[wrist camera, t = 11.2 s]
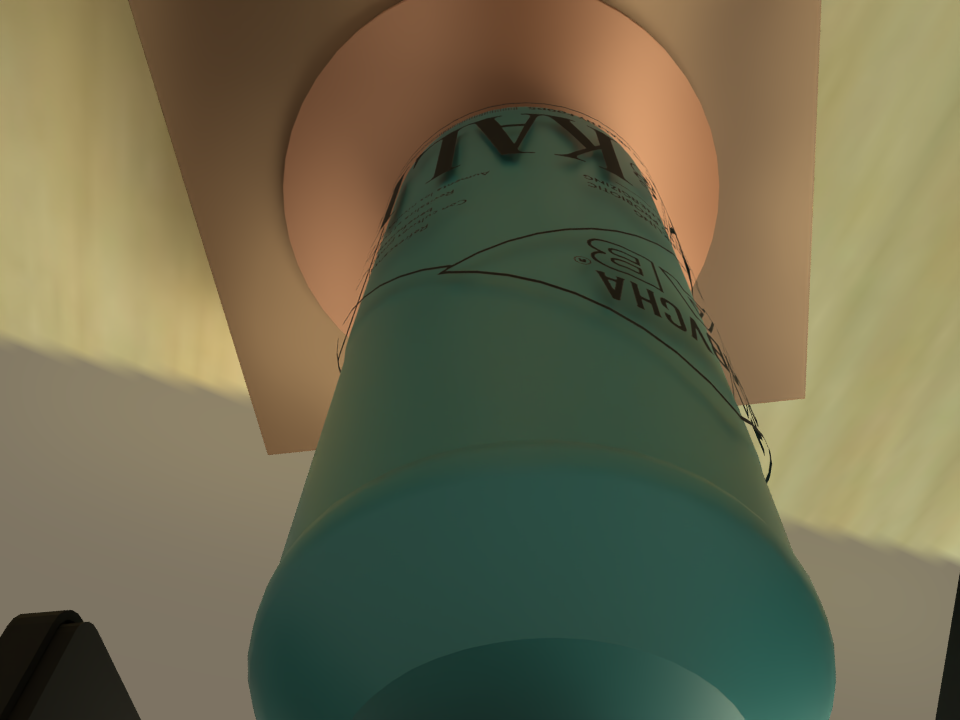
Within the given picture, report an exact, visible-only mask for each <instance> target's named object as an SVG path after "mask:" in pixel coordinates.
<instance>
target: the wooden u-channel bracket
mask: <svg viewBox="0 0 960 720" xmlns="http://www.w3.org/2000/svg"><path fill="white" fill-rule="evenodd" d="M128 1H129V4H130V8H131V11H132V14H133V17H134V21H135V24H136V27H137V30H138V34H139V37H140V40H141V43H142V47H143V50H144V53H145V56H146V60H147V63H148V66H149V69H150V73H151V76H152V79H153V82H154V86H155V89H156V92H157V95H158V99H159V102H160V105H161V108H162V112H163V115H164V118H165V121H166V125H167V128H168V131H169V134H170V138H171V141H172V144H173V147H174V151H175V154H176V157H177V160H178V164H179V167H180V170H181V173H182V177H183V180H184V183H185V186H186V190H187V193H188V196H189V199H190V203H191V206H192V209H193V213H194V216H195V219H196V222H197V226H198V229H199V232H200V235H201V239H202V242H203V245H204V248H205V252H206V255H207V258H208V261H209V265H210V268H211V271H212V274H213V278H214V281H215V284H216V287H217V291H218V294H219V297H220V300H221V304H222V307H223V310H224V313H225V317H226V320H227V323H228V326H229V330H230V333H231V336H232V339H233V343H234V346H235V349H236V352H237V356H238V359H239V362H240V365H241V369H242V372H243V375H244V378H245V382H246V385H247V388H248V391H249V395H250V398H251V401H252V404H253V408H254V411H255V414H256V417H257V421H258V424H259V427H260V430H261V434H262V437H263V440H264V443H265V447H266V450H267V453H268V455H273V454H282V453H292V452H302V451H311V450H316V448H317V445H318V442H319V438H320V435H321V432H322V429H323V426H324V423H325V420H326V417H327V413H328V410H329V407H330V404H331V401H332V398H333V395H334V392H335V389H336V385H337V382H338V379H339V376H340V371H339V368H338V361H337V353H338V357H339V354H340V351H341V348H342V345H343V342H344V339H345V336H346V334H347V331H348V328H349V325H350V322H351V319H352V316H353V314H354V311H355V308H356V307H355V306H356V305H357V302H358V299H359V296H360V294H361V291H362V288H363V285H364V282H365V279H366V276H367V274H368V276H367V279H366V282H365V285H364V288H363V291H362V294H361V297H360V299H359V301H360V300H361V299H362V298H363V295H364V292H365V289H366V286H367V283H368V280H369V273H368V271H369V270H368V268H370V265H371V262H372V259H373V256H374V251H375V249H376V248H378V247H377V245H378V242H379V245H380V243H381V242H382V240H383V237H382V236H383V233H385V231H386V228H387V225H388V222H389V219H390V218H389V219H388V220H387V222H386V223H385V225H384V226H383V227H384V230H383V227H382V229H381V230H380V228H381V225H382V223H383V220H384V217H385V215H384V214H386V212H387V210H386V209H388V206H389V203H390V200H391V198H392V195H393V193H392V192H394V191H393V190H394V189H393V188H395V187H396V185H397V183H398V181H399V180H400V179H401V177H402V176H403V174H404V173H405V174H404V177H403V179H402V182H401V185H400V188H401V186H402V183H403V182H404V180H405V178H406V176H407V174H408V172H409V170H410V169H411V167H412V166H413V164H414V163H415V162H416V159H417V158H418V157H419V156H420V155H421V154H422V153H423V152H424V150H425V149H426V148H427V147H428V146H429V145H430V144H431V143H432V142H433V141H435V140H436V139H437V138H438V137H439V134H440V136H441V133H442V134H443V131H444V132H445V130H446V129H447V130H448V128H449V129H450V127H451V128H452V126H453V125H454V126H455V124H456V125H457V123H459V122H460V123H461V122H462V121H464V120H466V119H467V118H468V119H469V117H470V118H471V117H472V116H476V115H479V114H482V113H484V112H487V111H492V110H497V109H502V108H508V107H541V108H548V109H554V110H559V111H564V112H566V113H569V114H573V115H575V116H578V117H583V119H585V120H586V121H587V120H589V121H590V123H591V122H594V123H595V126H596V125H597V127H598V125H600V126H601V128H600V127H599V128H600V129H602V130H603V131H605V132H606V133H608V132H609V133H608V134H609V135H610V136H611V137H612V138H613V139H614V140H616V141H617V142H618V143H619V144H620V145H621V146H622V147H623V148H624V150H625V151H626V152H627V153H628V154H629V155H630V156H631V158H632V159H633V161H634V162H635V164H636V165H637V167H638V168H639V170H640V171H641V173H643V174H644V175H643V174H642V175H643V177H644V178H645V179H646V178H647V179H648V180H649V181H648V180H647V179H646V180H647V182H648V183H649V182H650V183H649V185H650V184H651V185H652V187H653V189H654V191H655V193H656V194H655V193H654V192H653V191H652V190H650V189H649V190H650V193H651V194H652V192H653V193H654V195H655V196H656V198H657V200H656V199H655V198H654V197H653V196H652V198H653V200H654V203H655V205H656V208H657V210H658V212H659V215H660V217H661V218H662V219H663V220H662V219H661V220H662V222H663V225H664V221H665V226H666V228H667V229H668V231H669V232H668V231H667V229H665V230H666V232H667V234H668V237H669V239H670V236H669V235H670V229H669V226H670V228H671V227H672V225H673V227H674V230H675V232H676V234H677V238H678V241H679V243H678V241H677V238H675V237H676V235H675V234H674V235H673V234H672V235H671V237H672V236H673V237H672V238H673V241H674V242H673V241H672V240H671V239H670V242H672V247H673V249H674V252H675V254H676V257H677V259H678V261H679V262H680V263H681V264H680V263H679V264H680V266H681V269H682V271H683V274H684V276H685V279H686V281H687V284H688V286H689V288H690V291H691V293H692V288H691V283H690V280H689V276H688V273H687V272H686V271H687V270H686V267H685V263H684V260H683V258H682V253H681V252H680V251H681V250H679V249H680V247H679V244H680V246H682V248H681V249H682V251H683V252H684V253H683V254H684V257H685V259H686V260H687V261H688V262H687V261H686V262H687V264H688V266H689V267H690V268H689V269H692V270H690V275H691V279H692V280H691V281H692V287H693V298H694V301H695V302H696V303H697V304H698V305H699V306H700V307H701V308H702V309H703V308H704V310H705V311H706V312H705V313H704V312H703V311H702V310H701V309H700V307H699V306H698V305H697V304H696V306H697V307H698V308H699V309H700V310H701V311H702V313H703V314H704V316H703V317H702V320H703V323H704V325H705V326H706V327H707V328H708V329H709V328H710V326H711V323H712V322H713V323H714V327H713V331H712V333H710V332H709V331H708V329H707V328H706V327H705V328H706V330H707V333H708V334H709V335H710V336H711V337H712V338H713V340H714V341H715V342H716V343H717V344H718V345H719V347H720V350H721V352H722V355H723V357H724V359H725V362H726V364H727V366H728V363H727V361H726V358H725V356H727V360H728V362H729V361H731V362H729V364H732V365H730V367H731V369H732V368H733V369H732V371H734V372H733V374H734V373H735V372H736V373H735V374H736V376H737V378H738V379H739V382H740V384H741V385H742V388H743V390H742V388H741V386H740V384H739V386H740V387H739V386H738V384H737V383H736V381H735V380H734V382H733V378H734V377H733V375H732V372H731V370H730V368H728V369H729V370H730V373H731V377H730V373H729V372H728V370H727V369H726V368H725V367H724V366H723V365H722V364H721V362H720V361H719V362H720V364H721V367H722V369H723V372H724V374H725V377H726V379H727V382H728V384H729V386H730V389H731V391H732V394H733V389H734V399H735V401H736V404H737V406H738V405H743V404H744V405H746V403H747V405H748V402H749V404H757V403H767V402H776V401H786V400H795V399H805V387H806V363H807V338H808V314H809V290H810V265H811V241H812V217H813V192H814V168H815V143H816V119H817V95H818V70H819V46H820V22H821V0H128ZM525 102H527V103H525ZM507 103H521V104H507ZM531 103H545V104H531ZM502 104H506V105H502ZM546 104H550V105H546ZM496 105H500V106H496ZM552 105H556V106H552ZM491 106H495V107H491ZM557 106H562V107H557ZM487 107H490V108H487ZM563 107H565V108H563ZM484 108H486V109H484ZM566 108H569V109H572V110H575V111H572V110H569V109H566ZM481 109H483V110H481ZM478 110H480V111H478ZM475 111H477V112H475ZM576 111H578V112H576ZM471 112H474V113H471ZM579 112H581V113H579ZM469 113H471V114H469ZM582 113H583V114H582ZM467 114H469V115H467ZM584 114H585V115H584ZM465 115H466V116H465ZM586 115H587V116H586ZM463 116H464V117H463ZM588 116H590V117H592V118H594V119H596V120H594V119H592V118H590V117H588ZM461 117H462V118H461ZM459 118H460V119H459ZM457 119H458V120H457ZM454 120H456V121H454ZM597 120H598V121H597ZM453 121H454V122H453ZM451 122H452V123H451ZM600 122H601V123H600ZM450 123H451V124H450ZM602 123H603V124H604V125H603V124H602ZM448 124H449V125H448ZM592 124H593V123H592ZM447 125H448V126H447ZM605 125H606V126H607V127H606V126H605ZM445 126H446V127H445ZM454 126H453V127H454ZM443 127H444V128H443ZM602 127H603V128H602ZM608 127H609V128H610V129H609V128H608ZM442 128H443V129H442ZM440 129H441V130H440ZM605 129H606V130H607V131H608V132H607V131H606V130H605ZM611 129H612V130H613V131H612V130H611ZM439 130H440V131H439ZM447 130H446V131H447ZM437 131H438V132H437ZM436 132H437V133H436ZM435 133H436V134H435ZM611 133H612V134H613V136H612V134H611ZM616 133H617V134H618V135H619V136H620V137H621V138H620V137H619V136H618V135H617V134H616ZM434 134H435V135H434ZM437 135H438V137H437ZM614 135H615V136H616V137H614ZM431 136H432V137H431ZM430 137H431V138H430ZM435 137H437V138H435ZM429 138H430V139H429ZM433 138H434V139H435V140H434V139H433ZM428 139H429V140H428ZM619 139H620V140H621V141H622V142H623V144H622V143H621V141H620V140H619ZM431 140H433V141H431ZM624 140H625V141H626V142H627V143H628V144H629V145H628V144H627V143H626V142H625V141H624ZM425 141H426V142H425ZM424 142H425V143H424ZM429 142H431V143H429ZM423 143H424V144H423ZM427 143H428V144H427ZM422 144H423V145H422ZM624 144H625V145H626V146H627V147H626V146H625V145H624ZM421 145H422V146H421ZM425 145H426V146H425ZM423 147H425V148H423ZM628 147H629V148H630V150H629V148H628ZM421 149H423V150H421ZM632 149H633V150H634V151H635V152H634V151H633V150H632ZM419 151H420V152H419ZM414 153H415V154H414ZM633 153H634V154H635V155H636V156H637V157H635V155H634V154H633ZM413 154H414V155H413ZM416 154H418V155H416ZM412 155H413V156H412ZM411 156H412V157H411ZM414 156H416V157H415V158H414ZM412 158H413V160H411V159H412ZM637 158H638V159H637ZM409 159H410V160H409ZM410 161H411V162H410ZM407 162H408V163H409V162H410V163H409V164H408V163H407ZM641 163H642V164H643V165H642V164H641ZM404 166H405V167H406V166H407V167H406V168H405V167H404ZM409 166H410V167H409ZM402 169H403V170H402ZM406 170H407V171H406ZM646 170H647V171H646ZM403 171H404V172H403ZM645 171H646V172H645ZM401 174H402V175H401ZM647 174H648V175H647ZM400 175H401V176H400ZM399 176H400V177H399ZM650 176H651V177H652V178H651V177H650ZM649 177H650V178H649ZM398 178H399V179H398ZM650 179H651V180H652V179H653V180H652V181H651V180H650ZM653 181H654V182H653ZM395 182H396V183H395ZM652 182H653V183H654V184H655V186H656V188H655V187H654V185H653V183H652ZM394 184H395V185H394ZM646 184H647V183H646ZM647 185H648V184H647ZM649 185H648V186H649ZM651 185H650V186H649V187H650V188H651V189H652V187H651ZM394 186H395V187H394ZM400 188H399V191H400ZM656 189H657V190H656ZM399 191H398V194H399ZM651 191H652V192H651ZM657 191H658V192H659V194H658V192H657ZM391 194H392V195H391ZM398 194H397V197H398ZM652 195H653V194H652ZM659 195H660V197H661V199H660V197H659ZM390 196H391V197H390ZM397 197H396V199H397ZM388 200H389V201H388ZM660 200H662V202H663V203H662V202H661V201H660ZM395 202H396V200H395ZM395 202H394V205H395ZM661 203H662V204H664V205H661ZM387 204H388V205H387ZM394 205H393V208H394ZM664 206H665V208H664ZM393 208H392V211H393ZM662 209H663V210H662ZM665 209H666V210H665ZM392 211H391V214H392ZM664 211H665V213H664ZM666 211H667V212H666ZM667 213H668V214H667ZM391 214H390V215H391ZM663 214H664V216H663ZM383 216H384V217H383ZM668 216H669V217H668ZM390 217H391V216H390ZM382 218H383V219H382ZM665 218H666V219H665ZM669 218H670V220H671V222H670V220H669ZM381 220H382V221H381ZM666 221H667V224H666ZM380 222H381V223H380ZM668 222H669V224H670V225H669V224H668ZM671 223H672V225H671ZM667 225H668V227H667ZM378 227H379V228H378ZM673 227H672V228H673ZM382 230H383V233H382ZM379 231H380V232H379ZM378 233H379V234H378ZM381 233H382V236H381ZM377 235H378V236H377ZM380 236H381V240H380V241H379V239H380ZM376 237H377V238H376ZM674 238H675V239H674ZM675 240H676V241H675ZM676 242H677V243H676ZM673 244H674V245H675V246H676V244H677V246H676V247H677V248H676V247H675V248H676V249H675V248H674V245H673ZM371 246H372V247H371ZM380 246H381V245H380ZM380 246H379V248H380ZM374 247H375V248H374ZM678 247H679V248H678ZM677 249H678V250H679V251H678V250H677ZM372 250H373V251H372ZM377 252H378V249H377V250H376V253H375V256H374V259H373V262H372V263H373V264H372V266H371V268H370V274H371V269H372V268H373V266H374V263H375V262H374V260H376V257H377ZM679 252H680V253H681V255H680V253H679ZM372 255H373V256H372ZM369 256H370V257H371V256H372V257H371V258H370V257H369ZM368 258H369V259H368ZM366 260H368V261H369V262H368V261H366ZM682 266H683V267H684V268H685V269H684V268H683V267H682ZM367 270H368V271H367ZM685 270H686V271H685ZM692 271H693V273H692ZM366 272H367V273H366ZM365 273H366V274H365ZM693 274H694V276H693ZM362 278H363V279H362ZM694 278H696V279H694ZM359 279H360V280H359ZM360 281H361V282H360ZM696 281H697V282H696ZM693 282H694V283H693ZM359 283H360V284H359ZM697 283H698V284H697ZM694 284H695V285H694ZM696 284H697V285H698V286H697V285H696ZM358 285H359V286H358ZM696 287H698V288H699V289H698V290H699V292H700V293H701V295H700V293H699V292H698V290H697V288H696ZM356 289H357V290H356ZM701 296H702V297H703V298H701ZM702 299H704V300H702ZM360 303H361V302H360ZM360 303H359V304H358V305H357V308H356V311H355V314H354V317H353V320H352V322H351V325H350V328H349V331H348V334H347V337H346V340H345V343H344V345H343V348H342V351H341V354H340V358H339V367H340V369H341V370H342V367H343V364H344V358H345V350H346V346H347V342H348V339H349V336H350V333H351V329H352V327H353V324H354V321H355V318H356V315H357V312H358V309H359V306H360ZM354 307H355V308H354ZM353 308H354V309H353ZM352 309H353V310H352ZM699 309H698V310H699ZM351 310H352V311H351ZM700 310H699V313H700ZM350 312H351V313H350ZM349 313H350V315H349ZM706 313H707V314H708V315H707V314H706ZM348 315H349V316H348ZM708 316H709V317H708ZM347 317H348V318H347ZM346 318H347V319H346ZM710 319H711V320H710ZM345 320H346V321H345ZM344 321H345V323H344ZM343 323H344V324H343ZM717 329H718V330H717ZM718 332H719V333H718ZM719 335H720V336H719ZM338 338H339V339H338ZM721 339H722V340H721ZM711 341H712V339H711ZM712 343H713V346H714V347H715V349H716V350H717V351H718V352H719V350H718V348H717V345H716V344H715V343H714V342H713V341H712ZM337 344H338V350H337ZM724 346H725V347H724ZM726 351H727V352H726ZM716 353H717V352H716ZM719 353H720V352H719ZM723 353H724V354H725V356H724V354H723ZM727 354H728V355H727ZM717 355H718V357H719V359H720V360H721V361H722V363H723V364H724V362H723V360H722V358H721V356H720V355H719V354H718V353H717ZM729 357H730V358H729ZM724 365H725V364H724ZM734 376H735V375H734ZM731 379H732V381H731ZM739 382H738V383H739ZM734 383H735V385H736V387H737V390H738V392H739V394H738V392H737V390H736V387H735V385H734ZM732 384H733V387H732ZM740 388H741V389H740ZM741 390H742V392H741ZM743 391H744V392H745V394H744V392H743ZM742 393H743V394H742ZM739 395H740V397H741V399H742V402H743V404H742V402H741V399H740V397H739ZM743 395H744V396H743ZM745 395H746V396H745ZM744 397H745V399H744ZM746 398H747V399H748V402H747V399H746ZM745 400H746V401H745Z"/></svg>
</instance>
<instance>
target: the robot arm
mask: <svg viewBox="0 0 960 720" xmlns="http://www.w3.org/2000/svg"><path fill="white" fill-rule="evenodd" d="M0 720H141V719H140V717H139V715H138V713H137V711H136V709H135V707H134V705H133V703H132V701H131V699H130V697H129V695H128V692H127V690H126V688H125V686H124V684H123V682H122V680H121V678H120V676H119V674H118V672H117V670H116V668H115V666H114V664H113V662H112V660H111V658H110V656H109V653H108V651H107V649H106V647H105V645H104V643H103V641H102V639H101V637H100V635H99V633H98V631H97V629H96V628H95V626H94V625H93V624H92V623H90V622H83V620H82V619H81V617H80V616H79V614H78V613H76V612H74V611H73V610H66V611H65V610H64V611H53V612H41V613H29V614H20V615H18V616H17V617H15V618H13V620H12V621H11V622H10V623H9V625H8V626H7V628H6V629H5V631H4V632H3V634H2V635H1V637H0ZM936 720H960V575H959V581H958V588H957V594H956V599H955V605H954V611H953V617H952V623H951V629H950V635H949V641H948V648H947V654H946V660H945V665H944V672H943V678H942V683H941V689H940V695H939V701H938V708H937V714H936Z"/></svg>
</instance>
